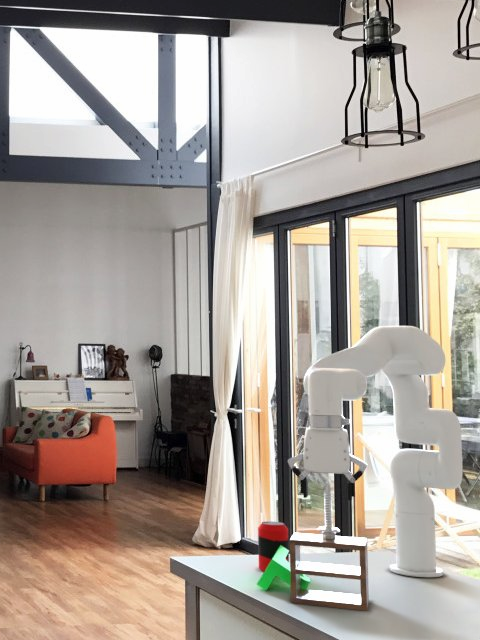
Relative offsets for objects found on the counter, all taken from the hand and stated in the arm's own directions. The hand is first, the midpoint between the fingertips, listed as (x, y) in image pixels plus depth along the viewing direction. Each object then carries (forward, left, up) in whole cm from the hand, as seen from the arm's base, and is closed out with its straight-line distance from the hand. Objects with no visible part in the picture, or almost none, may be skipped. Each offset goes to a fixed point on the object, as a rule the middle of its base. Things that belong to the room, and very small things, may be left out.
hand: (327, 498), depth 232 cm
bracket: (-15, -11, -23) cm, 30 cm away
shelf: (0, 0, -23) cm, 23 cm away
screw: (0, 0, -9) cm, 9 cm away
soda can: (-30, -16, -23) cm, 41 cm away
